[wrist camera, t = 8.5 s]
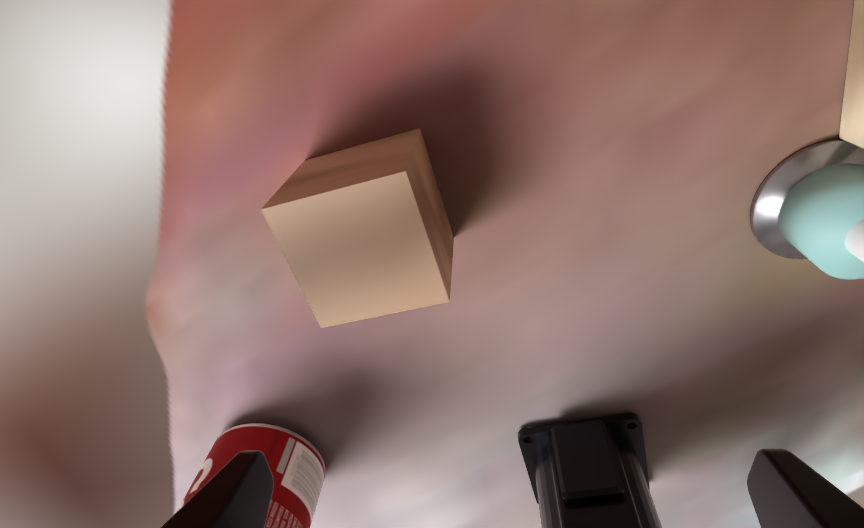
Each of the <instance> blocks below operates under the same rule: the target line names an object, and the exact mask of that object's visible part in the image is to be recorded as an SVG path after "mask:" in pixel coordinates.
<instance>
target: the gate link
mask: <svg viewBox="0 0 864 528" xmlns="http://www.w3.org/2000/svg"><path fill="white" fill-rule="evenodd" d="M778 226H779V230H780V233H781V234H782V236H783V237H784V238H785V239H786V241H788V242H789V243H790V244H791V245H792V246H794V247H795V248H796V249H797V250H798V251H800V252H801V253H802V254H803V255H804V256H805V257H807V258H808V259H809V260H810V261H811V262H813V263H814V264H815V265H816V266H817V267H818V268H820V269H821V270H822V271H823V272H825V273H826V274H828V275H830V276H833V277H836V278H840V279H862V278H864V166H863V165H859V164H853V163H842V164H836V165H832V166H828V167H825V168H822V169H820V170H818V171H816V172H814V173H812V174H810V175H809V176H807V177H806V178H804V179H803V180H801V181H800V182H799V183H798V184H797V185H796V186H795V187H794V188H793V189H792V190H791V191H790V192H789V193H788V195H787V196H786V198H785V199H784V201H783V203H782V205H781V207H780V210H779V215H778Z"/></svg>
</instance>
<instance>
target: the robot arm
mask: <svg viewBox="0 0 864 528" xmlns="http://www.w3.org/2000/svg"><path fill="white" fill-rule="evenodd" d="M527 437H528V438H527ZM518 441H519V445H520V448H521V451H522V455H523V458H524V461H525V465H526V468H527V471H528V475H529V478H530V481H531V485H532V488H533V491H534V494H535V498H536V501H537V503H538V504H539V509H540V517H541V524H542V528H662V526H661V523H660V520H659V517H658V514H657V512H656V509H655V506H654V503H653V500H652V497H651V494H650V491H649V481H648V473H647V464H646V456H645V448H644V439H643V431H642V424H641V421H640V419H639V416H637V415H636V414H633V413H629V414H622V415H615V416H608V417H601V418H594V419H587V420H580V421H573V422H566V423H559V424H552V425H545V426H538V427H531V428H524V429H521V430H520V431H519V432H518ZM747 485H748V491H749V494H750V497H751V500H752V502H753V505H754V508H755V511H756V514H757V517H758V519H759V522H760V525H761V528H864V508H862V507H861V506H860V505H859V504H857V503H856V502H855V501H853V500H852V499H851V498H849V497H848V496H847V495H846V494H844V493H843V492H842V491H840V490H839V489H838V488H836V487H835V486H834V485H833V484H831V483H830V482H829V481H827V480H826V479H825V478H824V477H822V476H821V475H820V474H818V473H817V472H816V471H814V470H813V469H812V468H811V467H809V466H808V465H807V464H805V463H804V462H803V461H802V460H800V459H799V458H798V457H796V456H795V455H794V454H792V453H791V452H789V451H787V450H785V449H761V450H759V451H758V452H757V454H756V457H755V459H754V462H753V465H752V467H751V470H750V473H749V475H748V480H747ZM273 487H274V479H273V475H272V473H271V470H270V467H269V465H268V462H267V460H266V457H265V455H264V453H263V452H262V451H259V450H244V451H241V452H239V453H237V454H236V455H235V456H234V457H233V458H232V459H231V460H230V461H229V462H228V463H227V464H226V465H225V466H224V467H223V468H222V469H221V470H220V471H219V472H218V473H217V474H216V475H215V476H214V477H212V478H211V479H210V480H209V481H208V482H207V483H206V484H205V485H204V486H203V487H202V488H201V489H200V490H199V491H198V492H197V493H196V494H195V495H194V496H193V497H192V498H191V499H190V500H189V501H188V502H187V503H186V504H185V505H184V506H183V507H182V508H181V509H179V510H178V511H177V512H176V513H175V514H174V515H173V516H172V517H171V518H170V519H169V520H168V521H167V522H166V523H165V524H164V525H163V526H162V527H161V528H265V524H266V519H267V515H268V510H269V506H270V501H271V497H272V492H273Z"/></svg>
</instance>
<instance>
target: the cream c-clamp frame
mask: <svg viewBox="0 0 864 528" xmlns="http://www.w3.org/2000/svg"><path fill="white" fill-rule="evenodd" d="M839 138H841V139H843V140H845V141H848V142H850V143H852V144H854V145H857V146H859V147H861V148H863V149H864V0H855V1H854V10H853V19H852V28H851V37H850V45H849V54H848V63H847V72H846V81H845V89H844V98H843V107H842V116H841V125H840V134H839Z"/></svg>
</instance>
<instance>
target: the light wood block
mask: <svg viewBox="0 0 864 528" xmlns="http://www.w3.org/2000/svg"><path fill="white" fill-rule="evenodd" d="M261 211H262V213H263V215H264V217H265V219H266V221H267V223H268V225H269V226H270V228H271V230H272V232H273V234H274V236H275V238H276V240H277V242H278V244H279V246H280V248H281V250H282V252H283V254H284V256H285V258H286V260H287V262H288V264H289V266H290V268H291V270H292V272H293V274H294V276H295V278H296V280H297V282H298V284H299V286H300V288H301V290H302V292H303V294H304V296H305V298H306V300H307V302H308V304H309V306H310V308H311V310H312V312H313V313H314V315H315V317H316V319H317V321H318V323H319V325H320V327H321V328H324V327H329V326H333V325H338V324H343V323H348V322H353V321H358V320H363V319H368V318H373V317H378V316H382V315H387V314H392V313H397V312H402V311H407V310H412V309H417V308H422V307H427V306H431V305H436V304H441V303H446V302H450V288H451V272H452V257H453V242H454V237H453V234H452V230H451V227H450V224H449V221H448V217H447V214H446V211H445V208H444V204H443V201H442V198H441V194H440V191H439V188H438V185H437V181H436V178H435V175H434V172H433V168H432V165H431V162H430V159H429V155H428V152H427V149H426V145H425V142H424V139H423V136H422V132H421V129H420V128H418V129H415V130H411V131H408V132H404V133H401V134H397V135H393V136H390V137H386V138H383V139H379V140H376V141H372V142H369V143H365V144H361V145H358V146H354V147H351V148H347V149H344V150H340V151H337V152H333V153H329V154H326V155H322V156H319V157H315V158H312V159H308V160H305V161H304V162H303V163H302V164H301V165H300V166H299V168H298V169H297V170H296V171H295V172H294V173H293V174H292V175H291V176H290V178H289V179H288V180H287V181H286V182H285V183H284V184H283V185H282V187H281V188H280V189H279V190H278V191H277V192H276V193H275V194H274V195H273V197H272V198H271V199H270V200H269V201H268V202H267V203H266V204H265V205H264V207H263V208H262V209H261Z"/></svg>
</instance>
